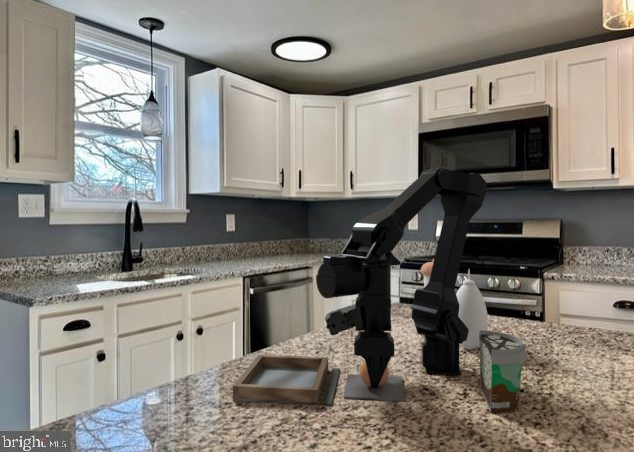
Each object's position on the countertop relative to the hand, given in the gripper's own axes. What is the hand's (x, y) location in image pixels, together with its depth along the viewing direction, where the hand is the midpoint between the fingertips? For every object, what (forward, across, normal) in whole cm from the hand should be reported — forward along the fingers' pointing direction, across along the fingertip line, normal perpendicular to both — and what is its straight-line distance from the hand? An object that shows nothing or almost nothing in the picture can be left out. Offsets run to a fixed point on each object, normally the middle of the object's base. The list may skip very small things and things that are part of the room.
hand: (374, 380), depth 76 cm
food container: (+2, +3, +21) cm, 21 cm away
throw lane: (+1, 0, -9) cm, 9 cm away
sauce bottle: (+1, -25, +21) cm, 33 cm away
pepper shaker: (+1, -35, +15) cm, 38 cm away
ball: (-2, 0, 0) cm, 2 cm away
